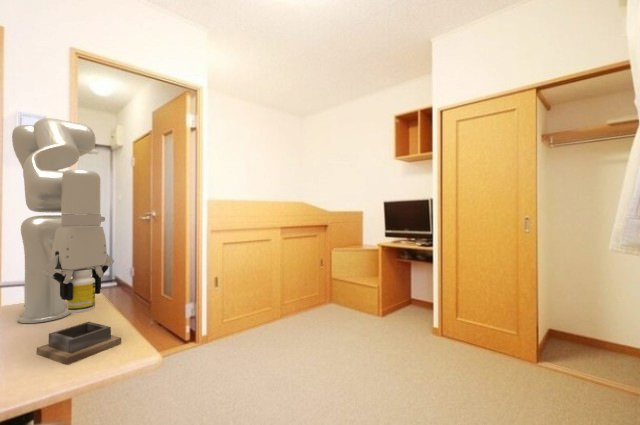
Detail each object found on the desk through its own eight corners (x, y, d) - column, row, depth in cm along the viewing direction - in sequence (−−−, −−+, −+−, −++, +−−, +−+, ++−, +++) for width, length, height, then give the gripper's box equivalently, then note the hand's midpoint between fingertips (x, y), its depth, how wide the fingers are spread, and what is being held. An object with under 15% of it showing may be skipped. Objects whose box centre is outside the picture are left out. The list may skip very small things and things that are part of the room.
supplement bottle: (97, 309, 76) (97, 269, 76) (69, 315, 72) (69, 272, 72) (92, 305, 79) (92, 266, 79) (64, 310, 75) (65, 269, 75)
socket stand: (36, 354, 73) (36, 335, 73) (91, 335, 84) (91, 318, 84) (67, 365, 68) (67, 344, 68) (121, 343, 79) (121, 325, 79)
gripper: (107, 220, 85) (107, 287, 85) (28, 222, 69) (28, 304, 69) (126, 220, 82) (126, 289, 82) (47, 222, 66) (47, 308, 66)
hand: (81, 295), depth 75 cm, fingers closed on supplement bottle, 5 cm apart
